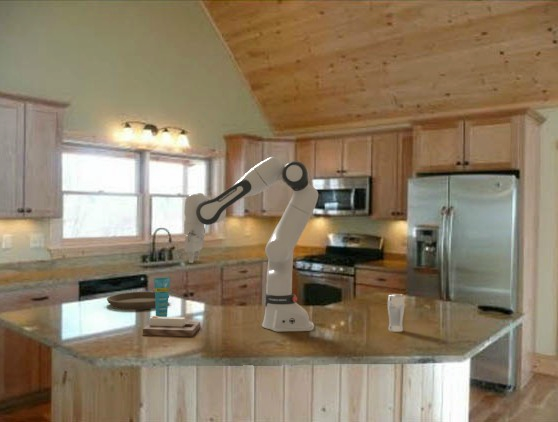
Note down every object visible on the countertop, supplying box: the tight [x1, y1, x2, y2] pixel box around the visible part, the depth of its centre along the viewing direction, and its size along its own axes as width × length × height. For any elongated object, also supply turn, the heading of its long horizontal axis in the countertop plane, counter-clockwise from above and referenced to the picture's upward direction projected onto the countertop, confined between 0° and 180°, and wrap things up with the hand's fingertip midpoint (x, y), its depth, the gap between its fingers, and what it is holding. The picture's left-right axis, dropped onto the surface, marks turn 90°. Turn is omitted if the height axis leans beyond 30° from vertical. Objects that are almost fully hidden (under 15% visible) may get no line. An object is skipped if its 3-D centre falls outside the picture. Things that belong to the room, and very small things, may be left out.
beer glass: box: [387, 293, 405, 333], centre depth 202 cm, size 7×7×15 cm
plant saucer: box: [106, 291, 170, 311], centre depth 246 cm, size 31×31×5 cm
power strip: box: [149, 315, 186, 326], centre depth 195 cm, size 14×3×6 cm, turn 87°
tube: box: [153, 276, 171, 317], centre depth 214 cm, size 7×5×19 cm, turn 123°
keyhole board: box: [142, 320, 201, 337], centre depth 195 cm, size 20×14×2 cm
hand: (193, 261), depth 210 cm, fingers open, 8 cm apart
